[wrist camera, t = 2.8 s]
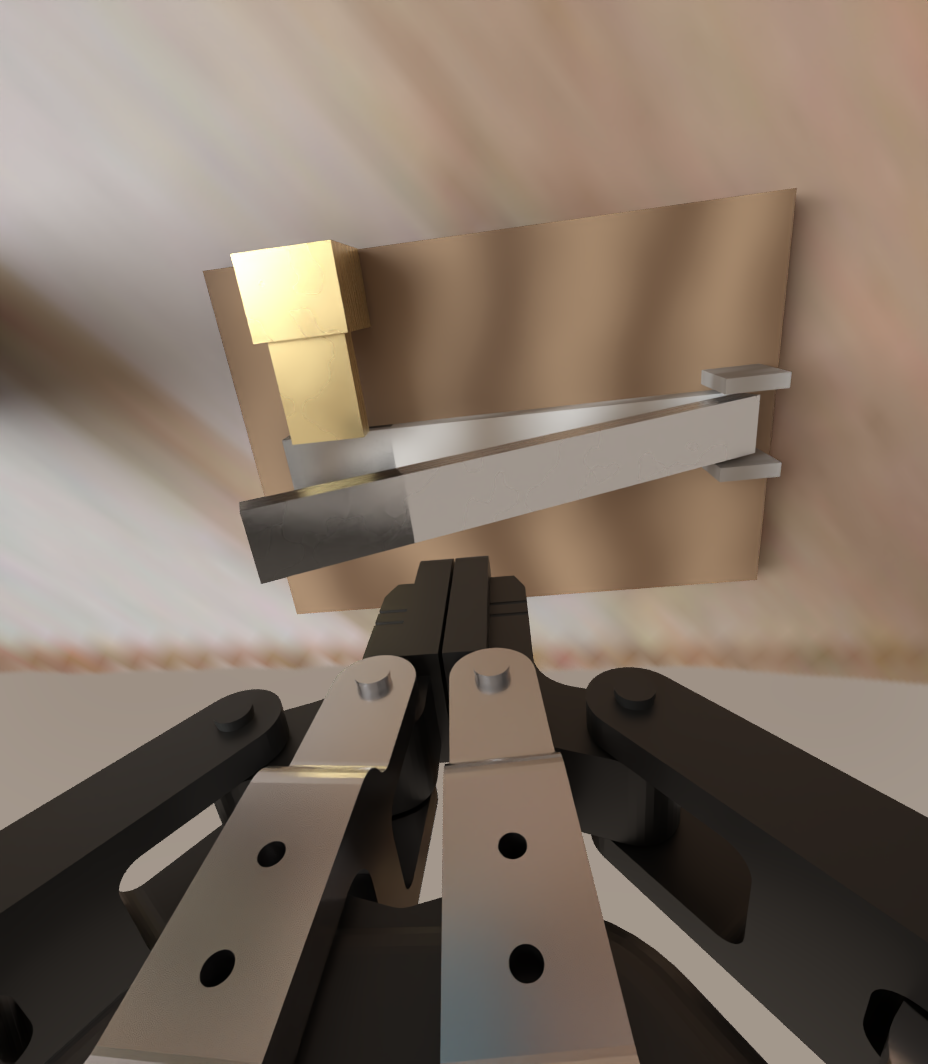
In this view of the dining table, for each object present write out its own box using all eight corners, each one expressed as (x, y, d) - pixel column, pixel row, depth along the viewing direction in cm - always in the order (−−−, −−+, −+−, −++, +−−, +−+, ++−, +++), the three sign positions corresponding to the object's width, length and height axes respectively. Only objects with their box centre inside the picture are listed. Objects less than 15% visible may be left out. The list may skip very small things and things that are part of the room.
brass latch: (357, 248, 22) (330, 239, 19) (387, 419, 25) (368, 440, 21) (273, 260, 23) (230, 254, 19) (311, 427, 25) (280, 449, 22)
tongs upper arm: (740, 392, 23) (760, 394, 22) (735, 448, 24) (754, 452, 23) (239, 502, 17) (239, 511, 16) (259, 571, 18) (261, 584, 17)
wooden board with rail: (778, 194, 22) (838, 172, 18) (744, 566, 29) (783, 608, 25) (219, 272, 25) (166, 267, 21) (305, 599, 31) (278, 644, 27)
